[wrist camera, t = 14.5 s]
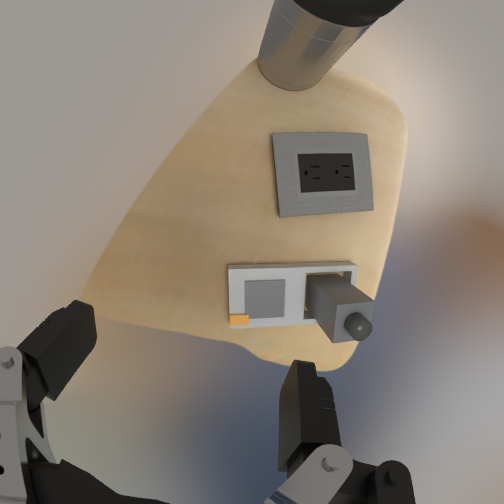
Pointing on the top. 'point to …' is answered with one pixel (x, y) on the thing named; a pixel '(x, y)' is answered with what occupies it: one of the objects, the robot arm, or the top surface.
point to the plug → (339, 308)
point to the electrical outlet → (322, 173)
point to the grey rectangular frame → (275, 292)
